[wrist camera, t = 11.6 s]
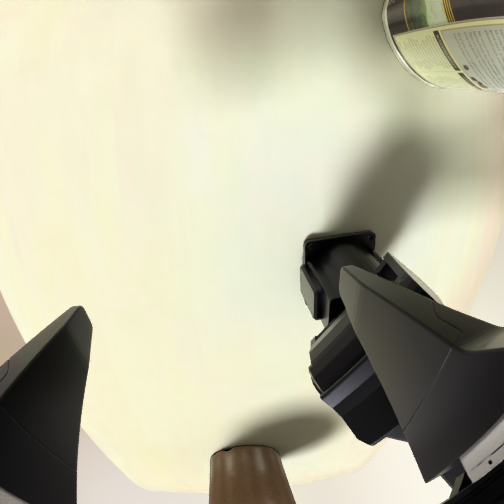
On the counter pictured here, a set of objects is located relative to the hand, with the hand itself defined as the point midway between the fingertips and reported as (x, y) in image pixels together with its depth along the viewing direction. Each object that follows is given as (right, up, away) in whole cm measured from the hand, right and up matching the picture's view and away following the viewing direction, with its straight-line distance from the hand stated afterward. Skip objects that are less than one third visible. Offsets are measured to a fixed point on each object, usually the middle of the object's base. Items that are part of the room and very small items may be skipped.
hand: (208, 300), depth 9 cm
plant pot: (0, -34, +33) cm, 47 cm away
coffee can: (+17, +20, +7) cm, 27 cm away
